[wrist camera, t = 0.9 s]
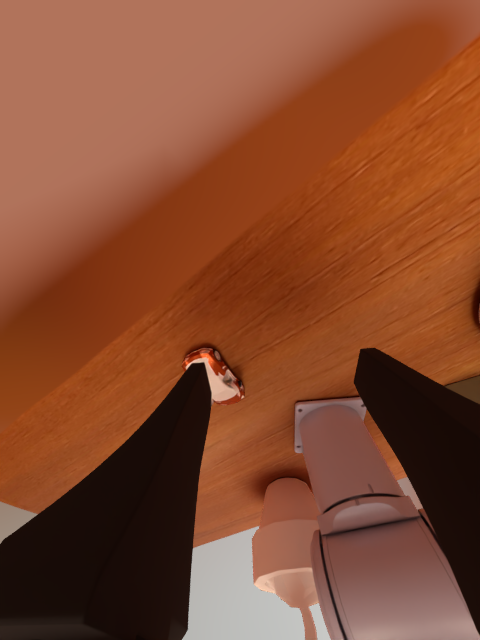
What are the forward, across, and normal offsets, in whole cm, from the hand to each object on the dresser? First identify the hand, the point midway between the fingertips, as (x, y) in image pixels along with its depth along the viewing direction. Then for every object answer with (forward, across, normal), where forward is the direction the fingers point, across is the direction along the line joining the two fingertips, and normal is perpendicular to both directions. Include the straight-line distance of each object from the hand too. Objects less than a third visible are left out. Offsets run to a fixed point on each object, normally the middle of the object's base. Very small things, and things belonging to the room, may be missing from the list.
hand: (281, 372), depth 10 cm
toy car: (+9, +5, +8) cm, 13 cm away
